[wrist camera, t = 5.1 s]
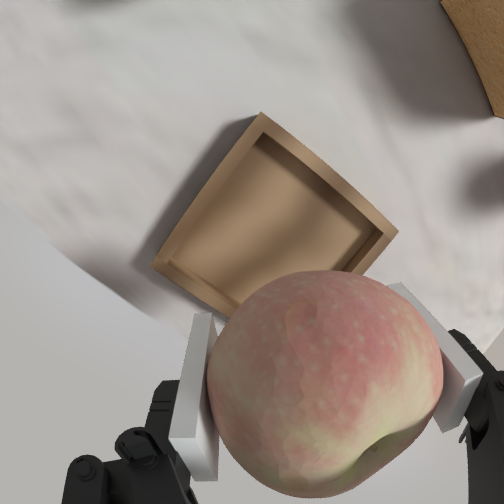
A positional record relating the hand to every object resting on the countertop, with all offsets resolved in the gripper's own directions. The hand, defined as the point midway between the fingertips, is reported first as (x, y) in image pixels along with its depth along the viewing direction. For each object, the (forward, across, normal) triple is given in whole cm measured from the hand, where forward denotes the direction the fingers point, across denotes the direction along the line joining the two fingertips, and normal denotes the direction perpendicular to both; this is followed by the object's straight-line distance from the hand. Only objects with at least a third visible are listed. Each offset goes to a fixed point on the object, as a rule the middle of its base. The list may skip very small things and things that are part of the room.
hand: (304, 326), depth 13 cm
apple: (0, 0, 0) cm, 1 cm away
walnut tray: (+13, 0, 0) cm, 13 cm away
